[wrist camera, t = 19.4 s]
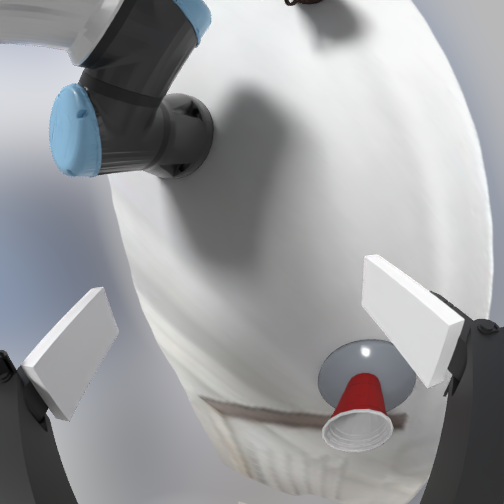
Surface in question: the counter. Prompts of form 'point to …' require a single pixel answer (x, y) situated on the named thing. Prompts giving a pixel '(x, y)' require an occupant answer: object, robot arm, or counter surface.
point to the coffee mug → (301, 0)
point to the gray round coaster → (367, 371)
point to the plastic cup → (359, 417)
